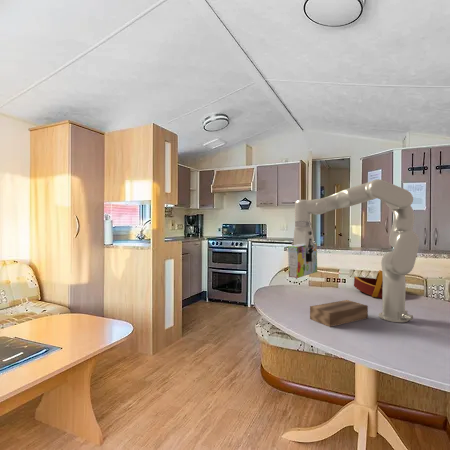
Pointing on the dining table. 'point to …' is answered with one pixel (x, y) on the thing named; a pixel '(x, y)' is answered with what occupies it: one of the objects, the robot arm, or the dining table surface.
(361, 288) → the decorative basket
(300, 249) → the snack box
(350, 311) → the walnut riser
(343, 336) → the dining table surface
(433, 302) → the dining table surface
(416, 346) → the dining table surface
